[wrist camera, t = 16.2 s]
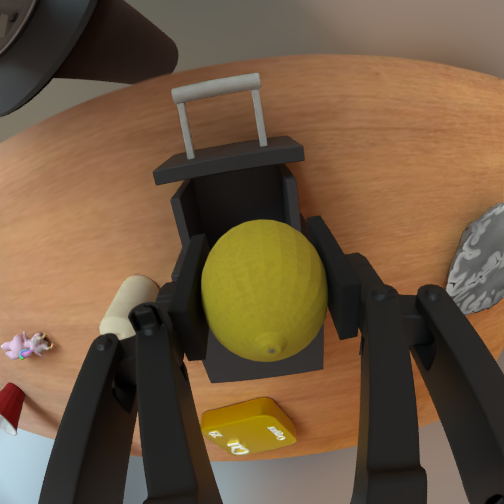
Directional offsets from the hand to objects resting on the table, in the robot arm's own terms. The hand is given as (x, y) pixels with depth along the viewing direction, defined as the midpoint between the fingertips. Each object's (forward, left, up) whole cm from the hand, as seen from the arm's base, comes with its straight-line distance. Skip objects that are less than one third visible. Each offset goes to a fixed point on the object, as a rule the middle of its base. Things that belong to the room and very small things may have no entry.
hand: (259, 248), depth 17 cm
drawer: (0, -2, -15) cm, 15 cm away
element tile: (+46, -7, -16) cm, 50 cm away
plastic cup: (+38, -67, -17) cm, 79 cm away
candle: (+12, -16, -16) cm, 26 cm away
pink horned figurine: (+20, -45, -17) cm, 53 cm away
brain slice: (+16, +34, -17) cm, 41 cm away
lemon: (0, 0, -1) cm, 1 cm away
